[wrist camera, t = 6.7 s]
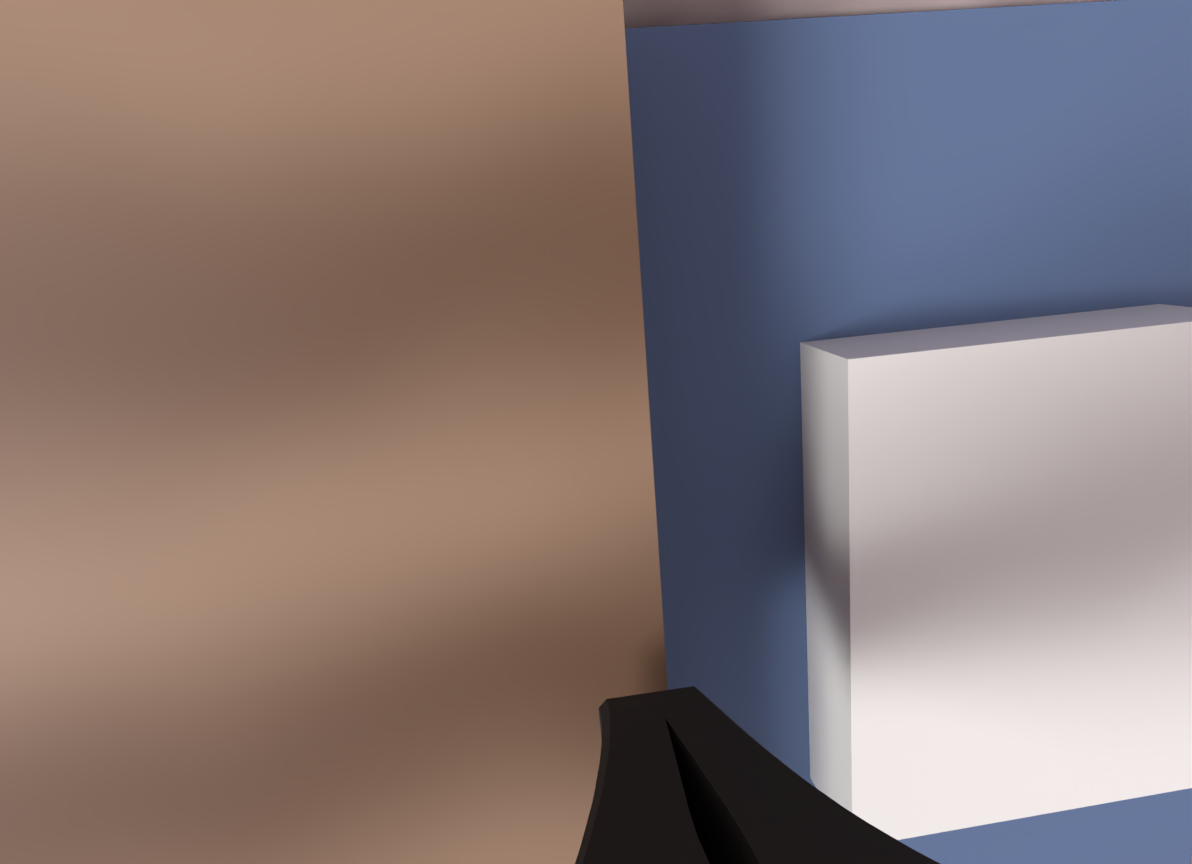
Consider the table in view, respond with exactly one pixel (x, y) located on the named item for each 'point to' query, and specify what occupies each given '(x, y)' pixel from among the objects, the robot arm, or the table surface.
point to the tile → (999, 566)
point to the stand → (318, 429)
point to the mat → (879, 291)
